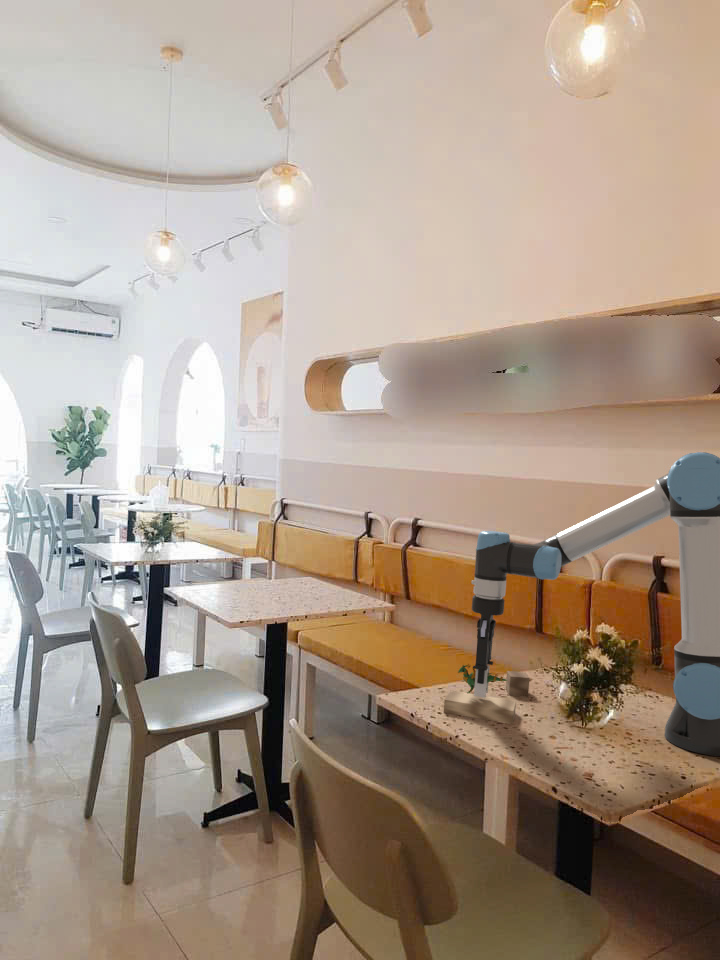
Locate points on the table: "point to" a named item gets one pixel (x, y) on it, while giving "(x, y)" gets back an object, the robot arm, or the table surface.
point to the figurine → (471, 677)
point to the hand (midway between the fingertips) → (480, 693)
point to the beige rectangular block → (480, 707)
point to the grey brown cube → (517, 683)
